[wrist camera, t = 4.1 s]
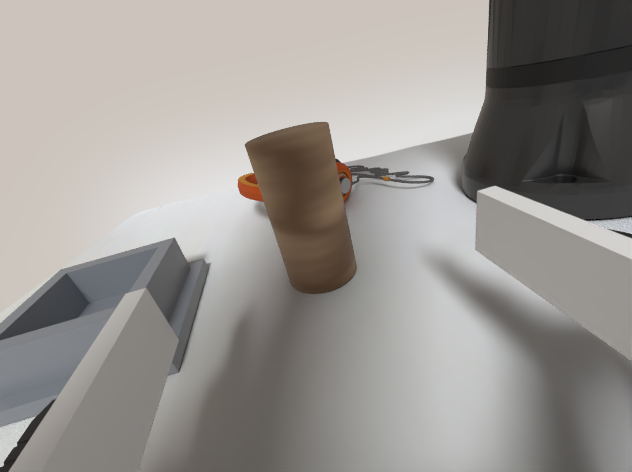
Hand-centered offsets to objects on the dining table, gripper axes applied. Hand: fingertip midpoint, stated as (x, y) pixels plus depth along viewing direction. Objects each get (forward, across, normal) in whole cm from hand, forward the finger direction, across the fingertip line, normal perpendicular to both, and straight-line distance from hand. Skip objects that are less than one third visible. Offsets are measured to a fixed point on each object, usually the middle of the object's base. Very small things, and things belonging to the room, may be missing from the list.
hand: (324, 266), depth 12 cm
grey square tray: (+8, -15, -6) cm, 18 cm away
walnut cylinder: (+8, 0, -6) cm, 10 cm away
